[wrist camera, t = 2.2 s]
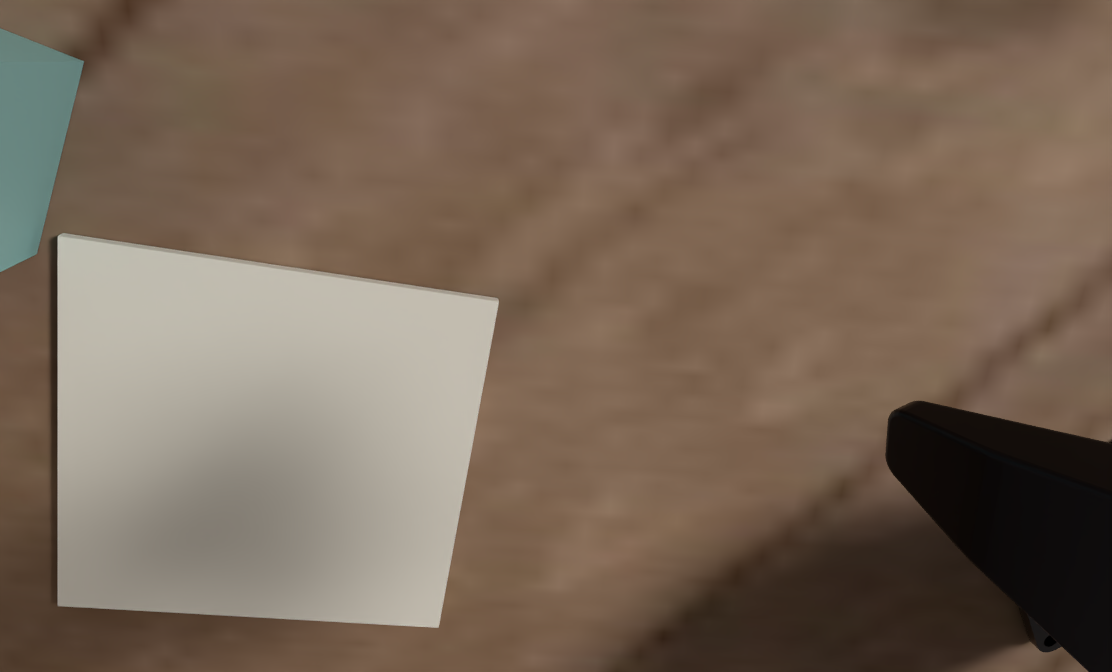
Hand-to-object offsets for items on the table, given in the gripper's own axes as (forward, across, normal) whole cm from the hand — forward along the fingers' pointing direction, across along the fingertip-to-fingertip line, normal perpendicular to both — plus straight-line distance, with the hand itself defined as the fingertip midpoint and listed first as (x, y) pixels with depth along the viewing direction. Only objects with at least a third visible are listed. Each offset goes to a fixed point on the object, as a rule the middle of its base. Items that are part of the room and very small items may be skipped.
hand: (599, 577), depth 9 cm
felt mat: (+12, +4, +4) cm, 13 cm away
